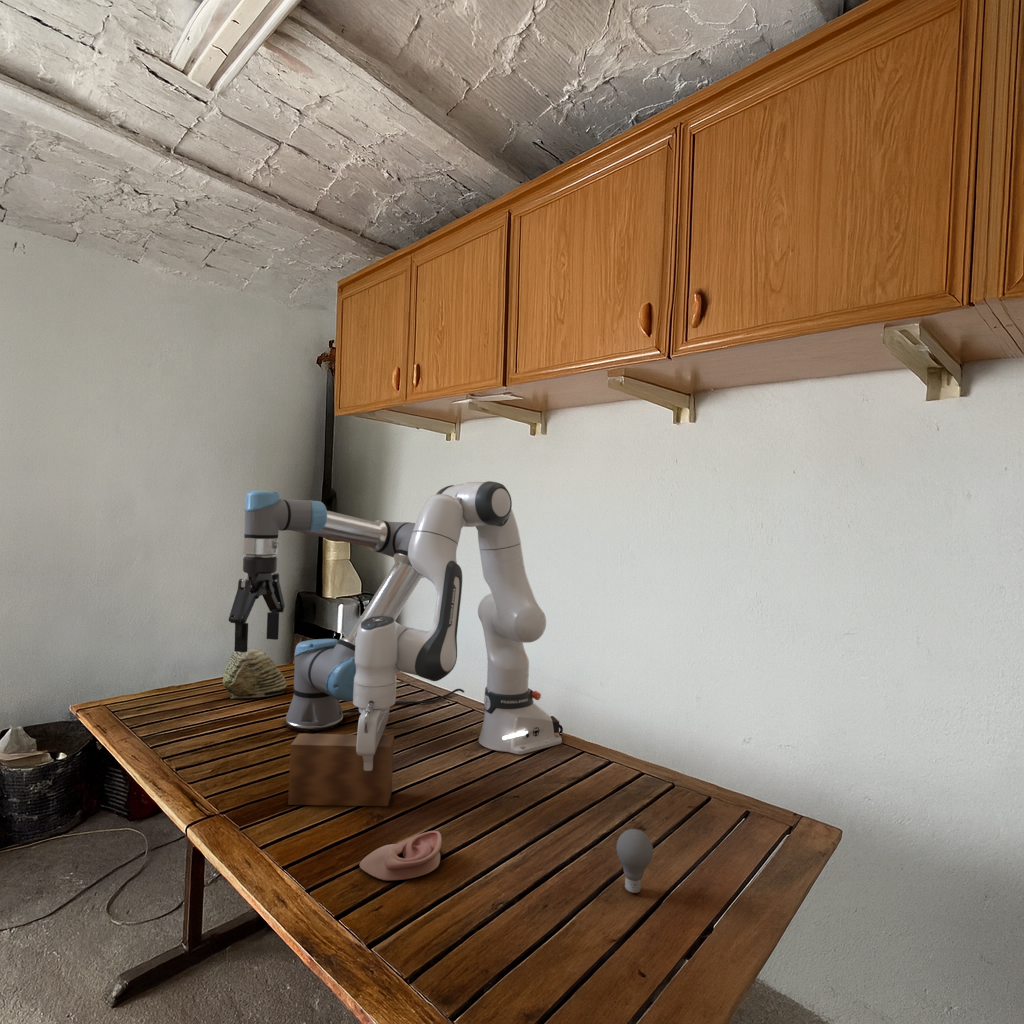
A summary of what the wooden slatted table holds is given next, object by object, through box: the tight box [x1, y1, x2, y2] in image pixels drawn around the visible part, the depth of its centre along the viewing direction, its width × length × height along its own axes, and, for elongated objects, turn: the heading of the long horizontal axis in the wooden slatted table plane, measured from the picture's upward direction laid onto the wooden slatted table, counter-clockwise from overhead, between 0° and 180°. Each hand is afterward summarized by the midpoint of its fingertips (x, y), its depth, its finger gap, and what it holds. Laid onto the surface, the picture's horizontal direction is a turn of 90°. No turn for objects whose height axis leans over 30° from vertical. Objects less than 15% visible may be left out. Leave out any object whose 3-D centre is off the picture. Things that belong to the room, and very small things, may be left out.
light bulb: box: [615, 828, 654, 894], centre depth 106 cm, size 6×6×10 cm
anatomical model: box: [359, 830, 443, 882], centre depth 111 cm, size 13×4×12 cm
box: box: [287, 733, 395, 807], centre depth 133 cm, size 20×6×12 cm, turn 93°
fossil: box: [222, 647, 288, 699], centre depth 198 cm, size 9×18×15 cm, turn 132°
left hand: (257, 645), depth 150 cm, fingers open, 13 cm apart
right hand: (372, 759), depth 134 cm, fingers open, 8 cm apart
